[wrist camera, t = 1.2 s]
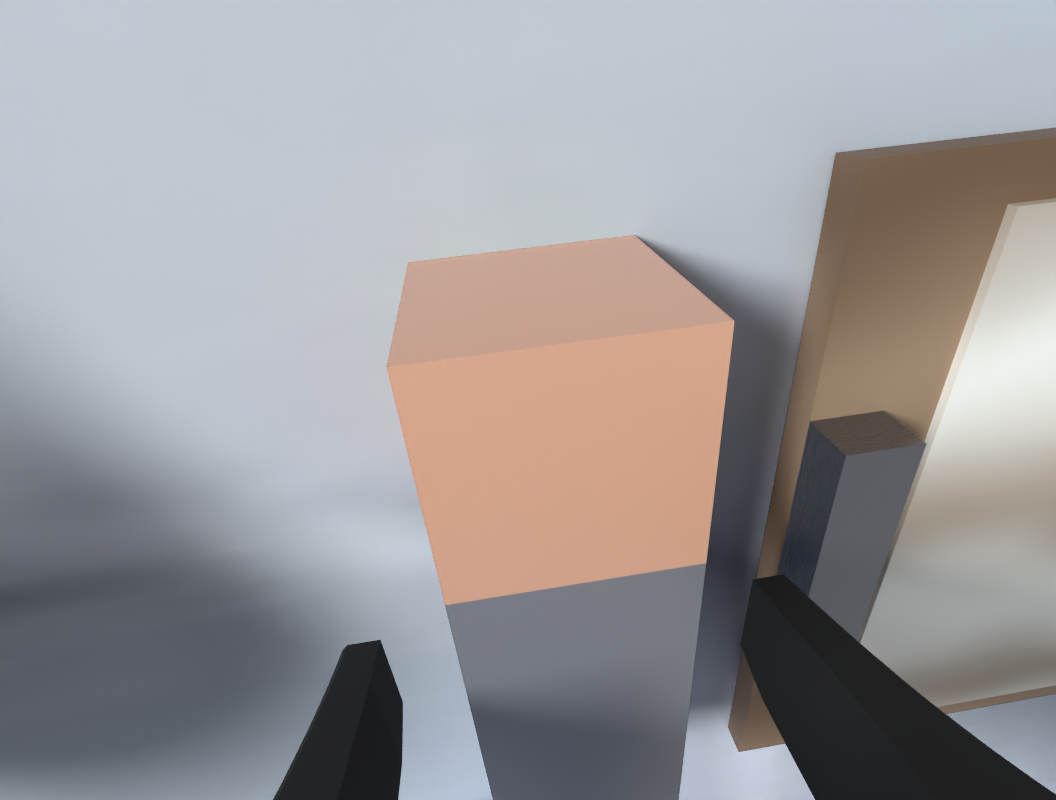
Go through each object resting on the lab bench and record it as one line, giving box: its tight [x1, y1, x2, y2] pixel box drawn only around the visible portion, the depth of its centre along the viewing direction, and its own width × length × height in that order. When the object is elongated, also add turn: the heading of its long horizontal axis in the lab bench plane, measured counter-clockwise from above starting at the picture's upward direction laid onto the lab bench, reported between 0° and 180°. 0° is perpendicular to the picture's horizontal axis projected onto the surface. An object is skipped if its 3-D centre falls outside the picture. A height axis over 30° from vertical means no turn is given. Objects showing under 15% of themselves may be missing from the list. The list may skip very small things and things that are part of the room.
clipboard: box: [728, 128, 1056, 752], centre depth 14 cm, size 18×13×2 cm
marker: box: [387, 235, 735, 800], centre depth 12 cm, size 15×4×4 cm, turn 5°
